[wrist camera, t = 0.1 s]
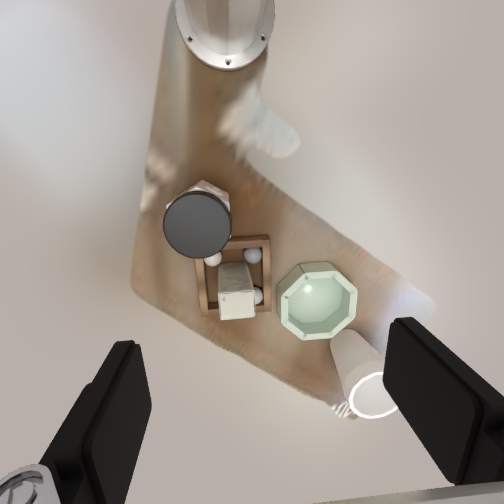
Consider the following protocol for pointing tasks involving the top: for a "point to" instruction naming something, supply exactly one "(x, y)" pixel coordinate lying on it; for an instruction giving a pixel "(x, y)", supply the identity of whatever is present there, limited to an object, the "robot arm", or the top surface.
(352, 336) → the foam cup
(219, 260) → the pebble
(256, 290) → the white ball
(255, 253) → the pebble
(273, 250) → the top surface
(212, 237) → the jar
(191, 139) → the top surface
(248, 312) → the box
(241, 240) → the tray
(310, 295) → the bowl
